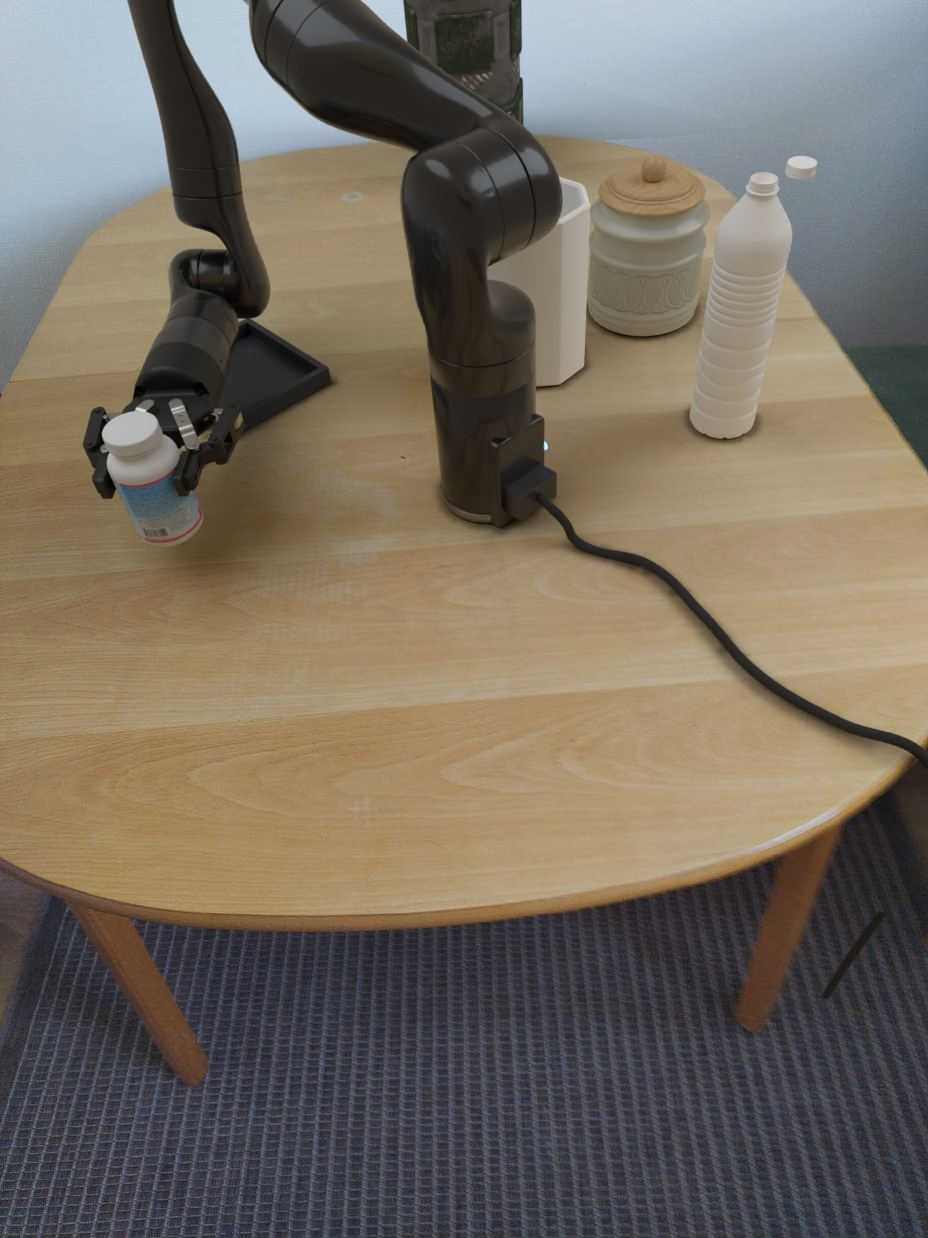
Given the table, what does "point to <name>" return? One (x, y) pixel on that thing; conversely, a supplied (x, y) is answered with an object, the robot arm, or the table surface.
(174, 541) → the pill bottle
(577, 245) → the cup
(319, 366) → the tray
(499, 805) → the table surface
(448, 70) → the canister
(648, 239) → the jar
